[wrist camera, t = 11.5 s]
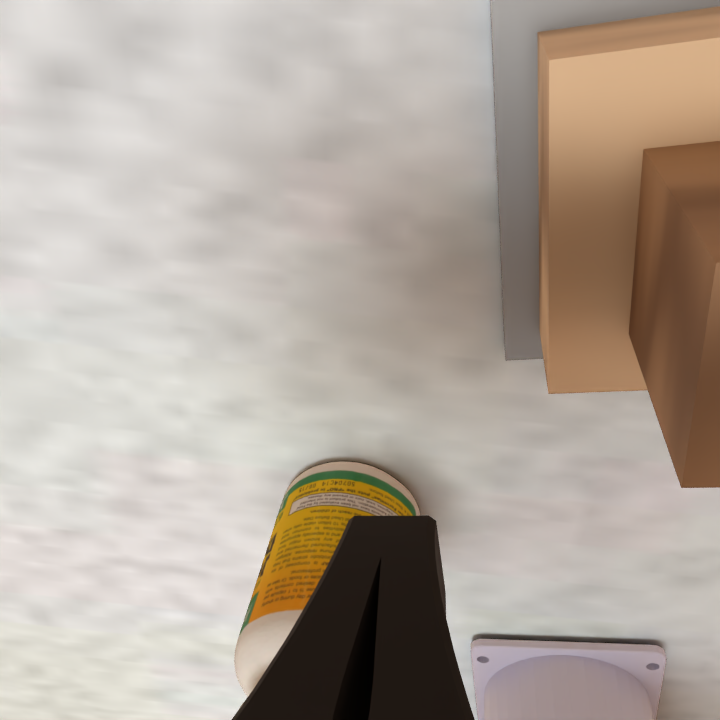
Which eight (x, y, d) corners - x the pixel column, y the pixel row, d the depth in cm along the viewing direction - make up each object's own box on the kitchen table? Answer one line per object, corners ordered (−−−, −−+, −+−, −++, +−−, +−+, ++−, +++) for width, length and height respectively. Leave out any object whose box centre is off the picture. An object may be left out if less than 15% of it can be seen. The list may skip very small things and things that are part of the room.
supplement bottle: (430, 551, 27) (412, 823, 19) (302, 553, 28) (236, 809, 20) (410, 451, 24) (379, 724, 16) (268, 458, 25) (176, 715, 17)
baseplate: (869, 331, 19) (879, 343, 18) (505, 349, 21) (505, 360, 20) (1004, -95, 13) (1024, -95, 13) (489, -15, 15) (490, -11, 15)
